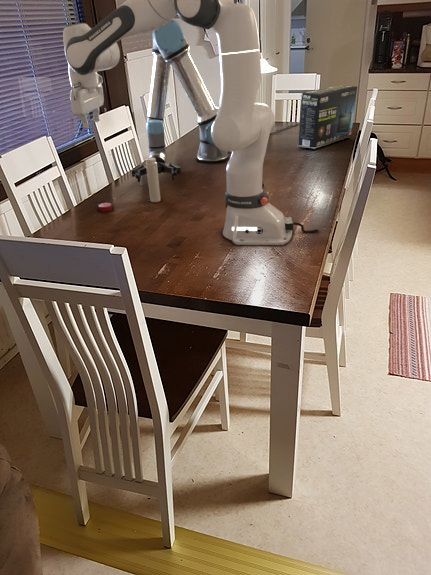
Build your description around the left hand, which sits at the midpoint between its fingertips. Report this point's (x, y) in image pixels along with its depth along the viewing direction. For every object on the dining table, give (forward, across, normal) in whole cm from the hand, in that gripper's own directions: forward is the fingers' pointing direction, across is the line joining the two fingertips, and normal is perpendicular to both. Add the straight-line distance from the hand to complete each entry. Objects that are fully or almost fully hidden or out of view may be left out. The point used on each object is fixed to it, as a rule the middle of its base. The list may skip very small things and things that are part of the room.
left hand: (155, 177), depth 182 cm
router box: (-64, -88, -7) cm, 109 cm away
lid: (+14, +19, -5) cm, 24 cm away
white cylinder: (+7, +1, -7) cm, 10 cm away
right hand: (+14, +19, +24) cm, 34 cm away
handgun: (-10, -39, -7) cm, 41 cm away
